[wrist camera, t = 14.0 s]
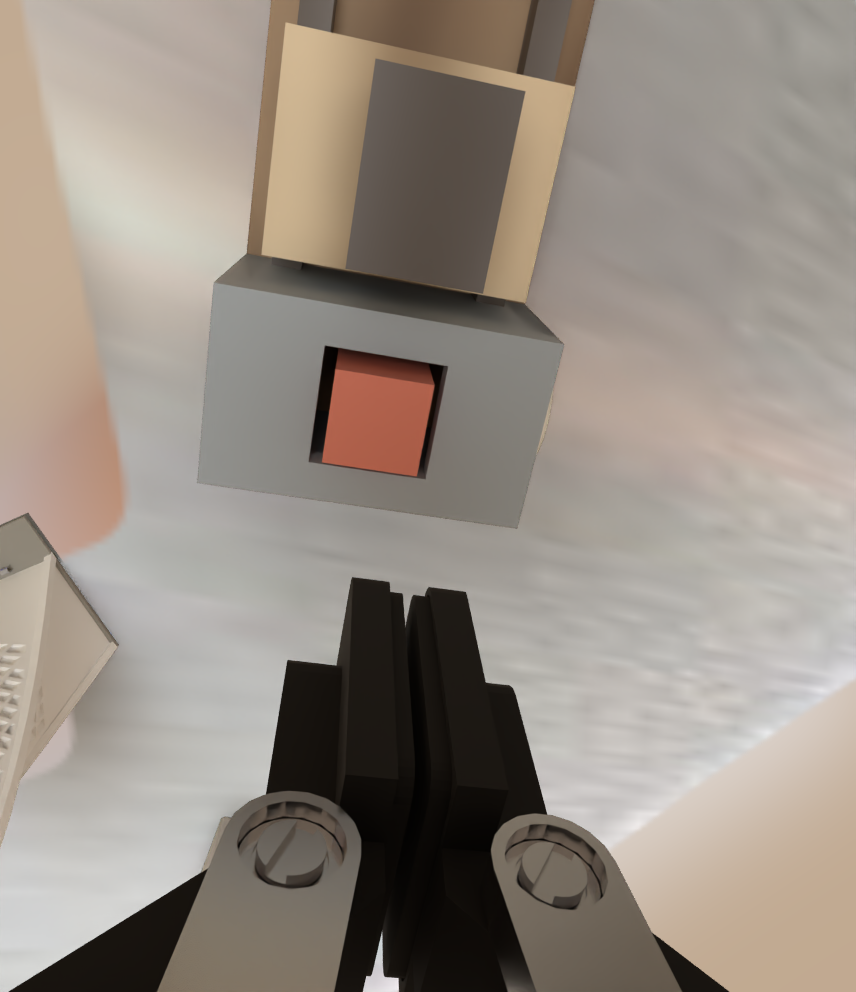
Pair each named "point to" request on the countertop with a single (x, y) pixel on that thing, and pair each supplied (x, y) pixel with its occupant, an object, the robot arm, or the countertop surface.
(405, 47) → the track
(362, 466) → the button
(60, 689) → the skyscraper
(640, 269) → the countertop surface
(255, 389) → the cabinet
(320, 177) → the carriage
